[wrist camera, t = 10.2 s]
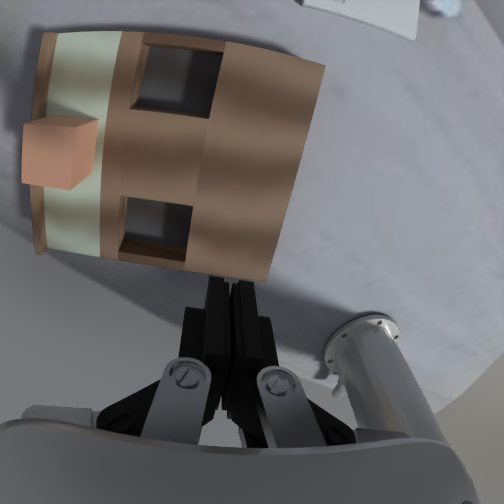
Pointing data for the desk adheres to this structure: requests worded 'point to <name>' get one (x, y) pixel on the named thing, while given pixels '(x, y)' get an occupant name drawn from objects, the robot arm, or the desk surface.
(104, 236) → the box
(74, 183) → the block
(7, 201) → the desk surface
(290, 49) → the desk surface
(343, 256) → the desk surface
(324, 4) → the external hard drive
